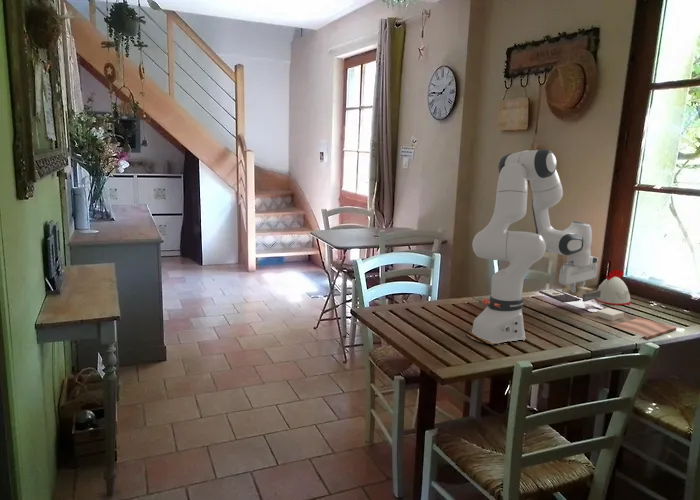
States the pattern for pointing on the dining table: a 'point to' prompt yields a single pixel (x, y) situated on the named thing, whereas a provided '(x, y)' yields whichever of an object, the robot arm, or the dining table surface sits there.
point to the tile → (610, 314)
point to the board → (635, 325)
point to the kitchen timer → (614, 290)
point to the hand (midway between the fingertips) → (577, 291)
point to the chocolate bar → (559, 295)
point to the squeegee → (582, 292)
